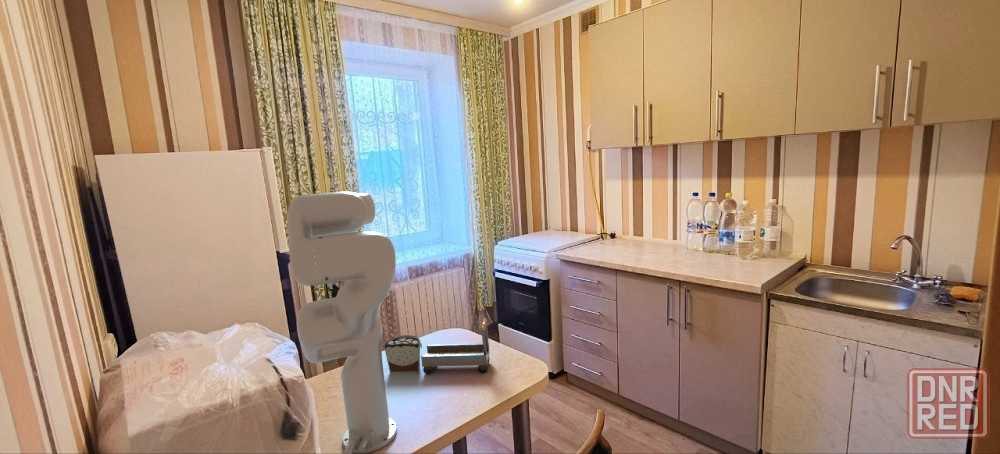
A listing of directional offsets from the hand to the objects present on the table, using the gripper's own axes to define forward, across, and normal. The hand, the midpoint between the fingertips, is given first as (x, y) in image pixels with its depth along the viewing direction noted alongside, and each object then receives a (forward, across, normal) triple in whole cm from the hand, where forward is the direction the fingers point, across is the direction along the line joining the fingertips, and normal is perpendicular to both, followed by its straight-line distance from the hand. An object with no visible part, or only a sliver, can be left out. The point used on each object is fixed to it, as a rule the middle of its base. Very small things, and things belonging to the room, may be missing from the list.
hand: (347, 299), depth 119 cm
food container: (+28, +14, -10) cm, 33 cm away
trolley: (+28, +13, -27) cm, 41 cm away
